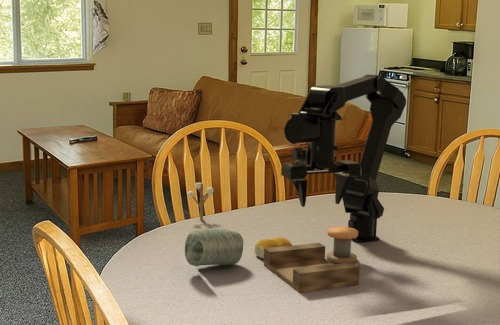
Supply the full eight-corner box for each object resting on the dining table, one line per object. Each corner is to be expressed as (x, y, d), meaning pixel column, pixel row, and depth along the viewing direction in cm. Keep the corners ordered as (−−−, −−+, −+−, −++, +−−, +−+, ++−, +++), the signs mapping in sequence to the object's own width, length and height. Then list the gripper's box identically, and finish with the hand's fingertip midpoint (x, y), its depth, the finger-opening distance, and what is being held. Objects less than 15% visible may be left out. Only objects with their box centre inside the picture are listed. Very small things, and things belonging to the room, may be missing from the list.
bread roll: (299, 255, 157) (299, 239, 157) (267, 262, 153) (267, 246, 152) (280, 245, 164) (280, 230, 164) (248, 252, 160) (248, 236, 159)
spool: (188, 268, 141) (204, 223, 141) (171, 255, 149) (187, 213, 149) (241, 282, 148) (257, 240, 148) (222, 269, 156) (237, 229, 156)
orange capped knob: (346, 253, 161) (348, 225, 160) (362, 262, 155) (363, 233, 154) (321, 256, 159) (322, 228, 158) (335, 265, 152) (337, 236, 151)
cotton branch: (185, 222, 187) (185, 180, 185) (205, 219, 191) (205, 177, 189) (198, 228, 181) (198, 184, 179) (218, 225, 185) (219, 182, 183)
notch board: (318, 259, 157) (319, 242, 156) (358, 284, 140) (359, 266, 140) (263, 265, 152) (264, 248, 151) (299, 292, 135) (299, 273, 134)
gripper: (340, 134, 167) (337, 195, 170) (272, 136, 160) (270, 200, 163) (364, 140, 157) (360, 205, 160) (292, 143, 150) (290, 211, 153)
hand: (320, 205), depth 159 cm, fingers open, 9 cm apart
